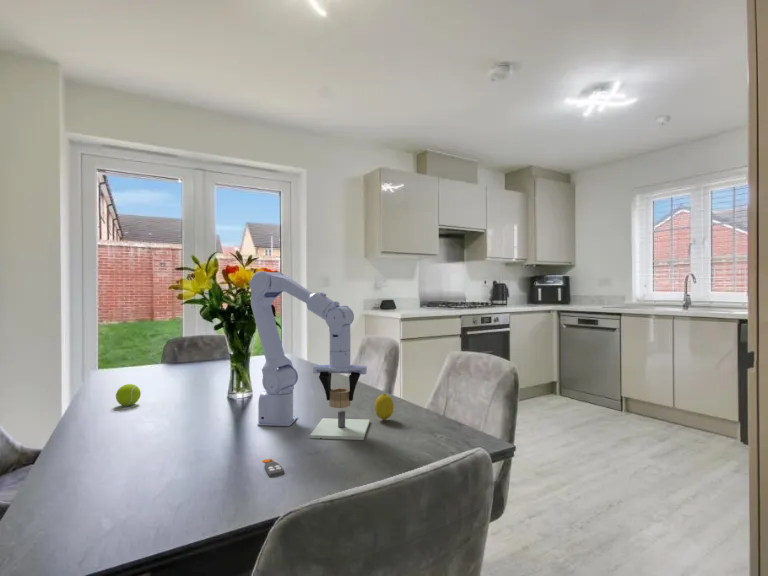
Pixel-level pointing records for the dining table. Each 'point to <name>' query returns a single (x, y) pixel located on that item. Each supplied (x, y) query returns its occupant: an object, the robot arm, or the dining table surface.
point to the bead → (339, 397)
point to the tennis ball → (128, 395)
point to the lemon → (384, 407)
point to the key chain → (273, 468)
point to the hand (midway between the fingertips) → (340, 399)
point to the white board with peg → (341, 428)
